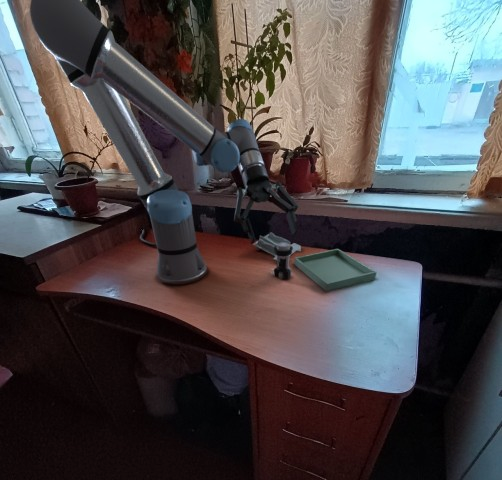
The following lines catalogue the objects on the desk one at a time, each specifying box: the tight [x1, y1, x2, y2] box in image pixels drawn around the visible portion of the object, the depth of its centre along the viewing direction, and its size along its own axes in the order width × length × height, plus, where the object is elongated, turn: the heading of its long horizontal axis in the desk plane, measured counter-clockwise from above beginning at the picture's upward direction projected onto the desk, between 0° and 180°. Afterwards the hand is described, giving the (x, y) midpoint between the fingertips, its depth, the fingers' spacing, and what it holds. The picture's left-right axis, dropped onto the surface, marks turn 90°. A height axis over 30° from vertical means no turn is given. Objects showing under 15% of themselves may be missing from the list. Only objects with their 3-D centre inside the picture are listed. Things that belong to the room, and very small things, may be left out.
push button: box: [270, 242, 293, 281], centre depth 91 cm, size 7×5×10 cm
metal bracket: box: [252, 231, 302, 262], centre depth 107 cm, size 14×6×15 cm
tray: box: [293, 248, 377, 292], centre depth 94 cm, size 19×16×2 cm
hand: (274, 237), depth 91 cm, fingers open, 13 cm apart
